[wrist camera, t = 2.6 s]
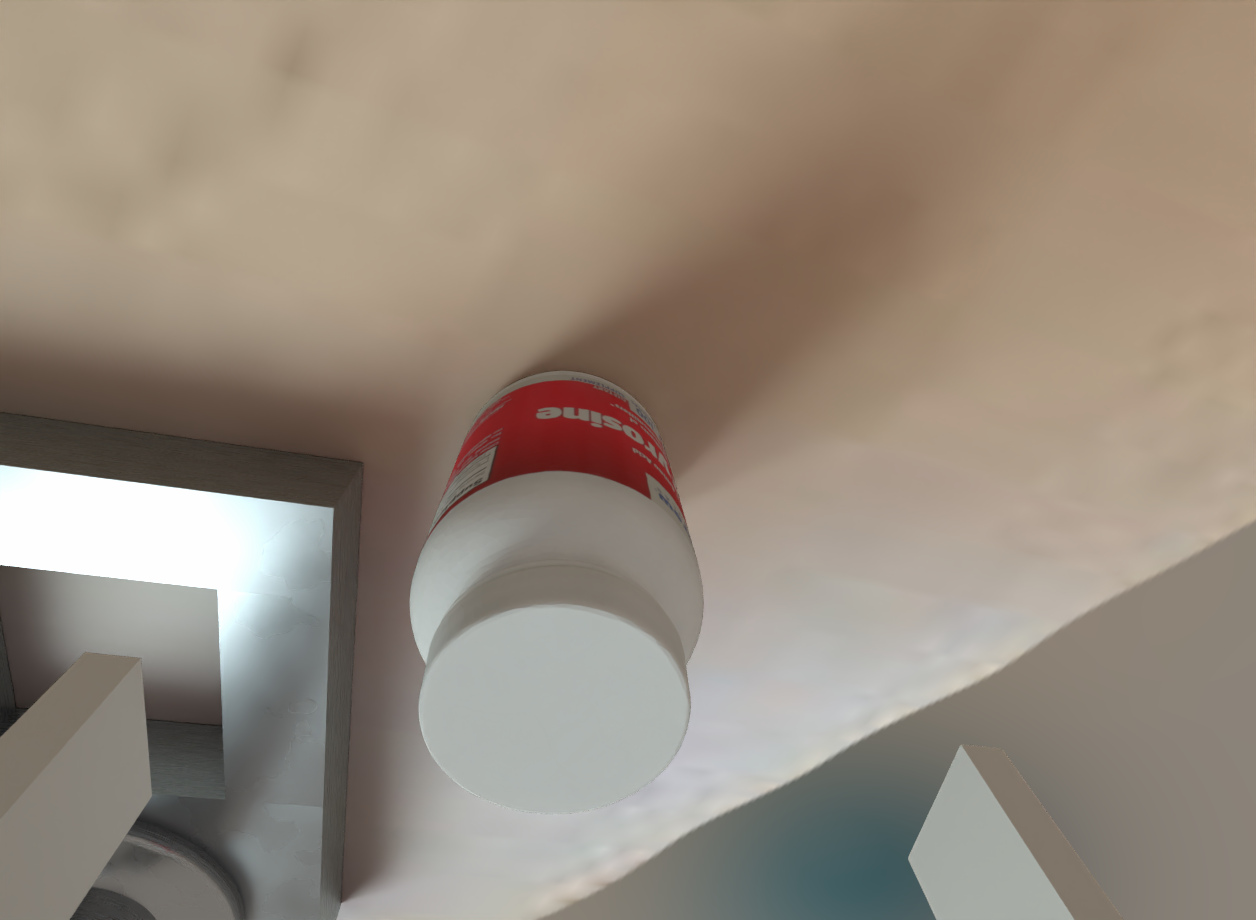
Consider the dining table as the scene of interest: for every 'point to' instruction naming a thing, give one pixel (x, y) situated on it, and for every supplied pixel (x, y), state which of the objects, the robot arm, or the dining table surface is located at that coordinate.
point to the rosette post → (249, 654)
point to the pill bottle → (557, 601)
